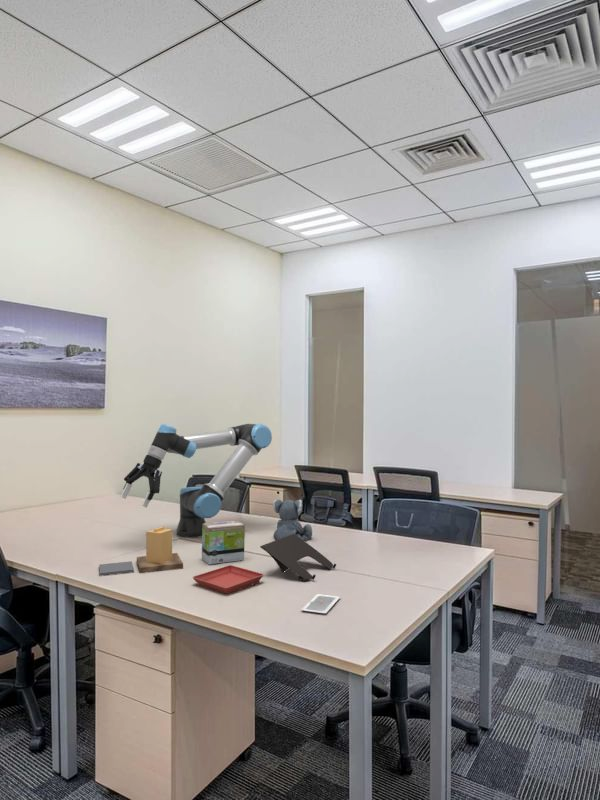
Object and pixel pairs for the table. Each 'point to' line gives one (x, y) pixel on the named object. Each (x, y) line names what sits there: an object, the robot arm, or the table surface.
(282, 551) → the portable electronic device stand
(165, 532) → the tan tall block
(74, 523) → the table surface
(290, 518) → the koala plush
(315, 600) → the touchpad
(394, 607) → the table surface
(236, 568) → the plant saucer
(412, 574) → the table surface
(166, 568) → the wooden base with post
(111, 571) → the pad
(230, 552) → the tea box
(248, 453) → the robot arm
